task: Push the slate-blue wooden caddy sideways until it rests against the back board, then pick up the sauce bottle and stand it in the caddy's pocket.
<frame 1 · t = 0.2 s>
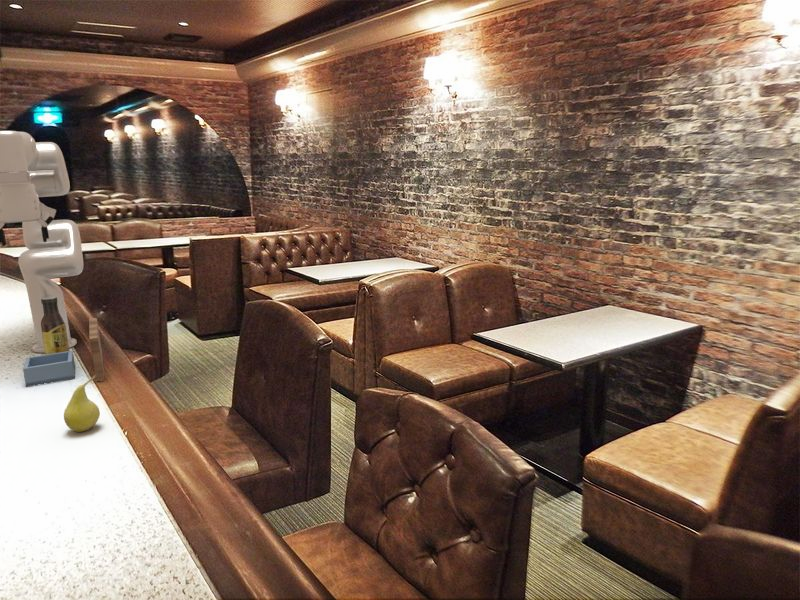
hand: (25, 243, 171), 36 cm above the counter, tool pointing down, fingers open, 9 cm apart
fruit: (85, 430, 138), on the counter
caddy: (51, 376, 174), on the counter
sauce bottle: (59, 365, 184), on the counter
back board: (99, 368, 179), on the counter
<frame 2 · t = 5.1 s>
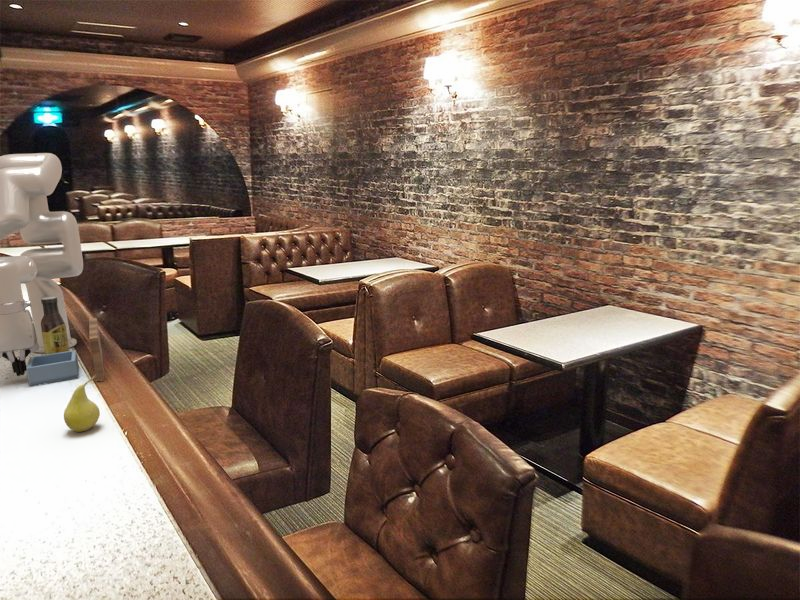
hand: (20, 374, 170), 2 cm above the counter, tool pointing down, fingers closed
caddy: (55, 376, 174), on the counter, touching gripper
everything else where it was.
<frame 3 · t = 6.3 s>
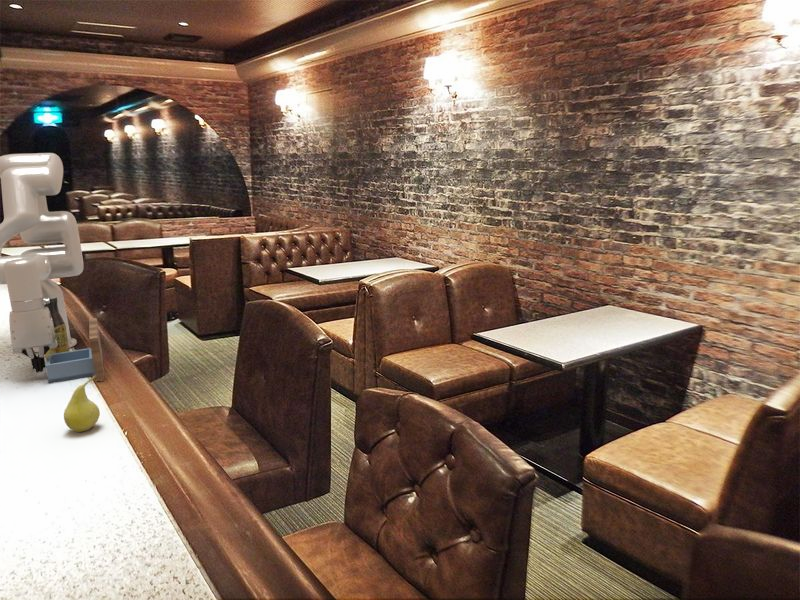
hand: (39, 370, 172), 2 cm above the counter, tool pointing down, fingers closed
caddy: (73, 373, 175), on the counter, touching back board, gripper
everything else where it was.
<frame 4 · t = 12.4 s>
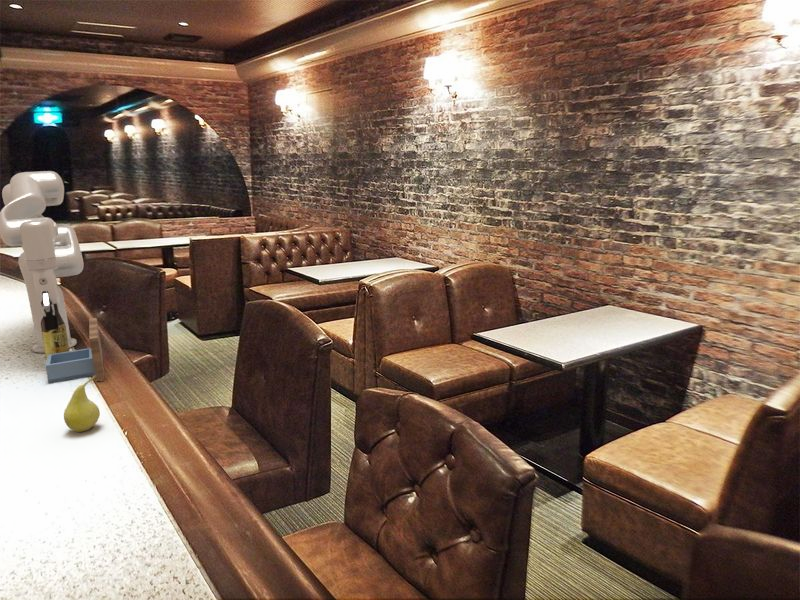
hand: (52, 326, 181), 12 cm above the counter, tool pointing down, fingers closed on sauce bottle, 6 cm apart
caddy: (73, 373, 175), on the counter
sauce bottle: (59, 364, 184), on the counter, touching gripper
everything else where it was.
when the fingers open (14 cm above the counter, at t = 19.4 s): sauce bottle drops 1 cm, resting on caddy.
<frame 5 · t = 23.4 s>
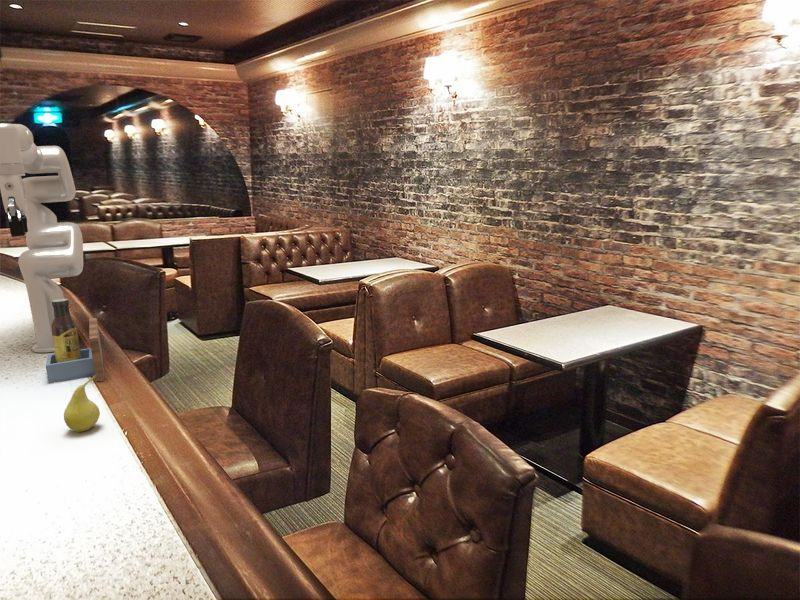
hand: (20, 234, 174), 38 cm above the counter, tool pointing down, fingers open, 9 cm apart
caddy: (73, 373, 175), on the counter, touching sauce bottle
sauce bottle: (71, 370, 176), point 1 cm above the counter, touching caddy
everything else where it was.
at the end: caddy inside the target area (0.4 cm from its centre), on the counter; sauce bottle 0.7 cm off-centre on the caddy, point 0.8 cm above the caddy's base; sauce bottle tilted 0° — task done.
